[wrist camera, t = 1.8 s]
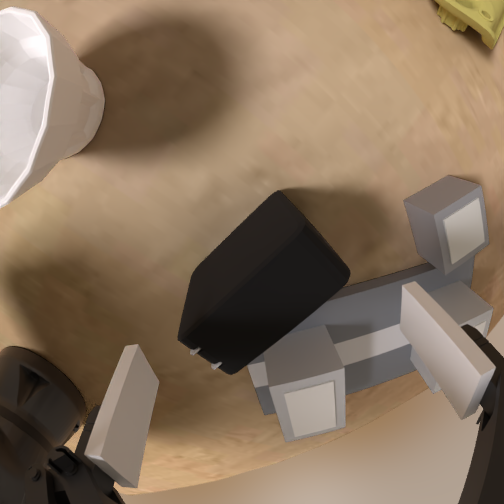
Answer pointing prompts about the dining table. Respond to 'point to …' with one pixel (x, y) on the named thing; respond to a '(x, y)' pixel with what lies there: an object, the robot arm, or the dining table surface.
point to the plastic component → (474, 17)
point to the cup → (41, 101)
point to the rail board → (355, 347)
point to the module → (448, 222)
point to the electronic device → (259, 286)
